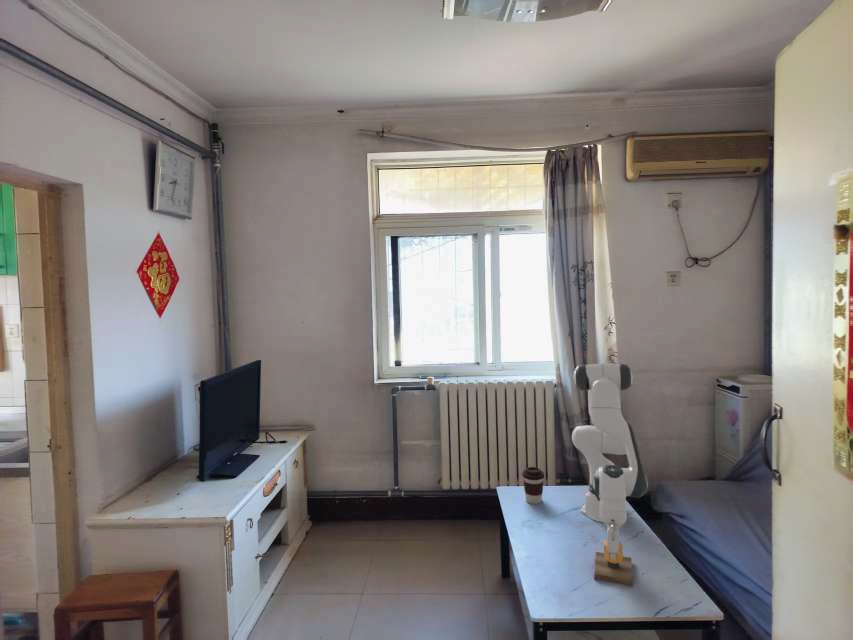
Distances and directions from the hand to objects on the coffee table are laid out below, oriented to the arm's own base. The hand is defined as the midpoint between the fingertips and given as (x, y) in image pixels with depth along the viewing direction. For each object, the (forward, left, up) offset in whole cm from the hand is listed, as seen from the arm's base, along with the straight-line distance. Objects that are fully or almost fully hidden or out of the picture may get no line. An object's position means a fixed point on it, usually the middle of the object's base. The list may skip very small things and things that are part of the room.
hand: (613, 551), depth 167 cm
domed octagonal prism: (0, 0, -2) cm, 2 cm away
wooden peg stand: (0, 0, -7) cm, 7 cm away
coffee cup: (-46, -35, -7) cm, 58 cm away
